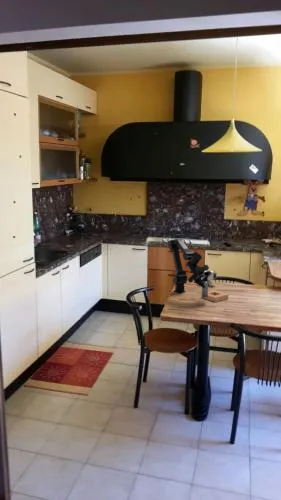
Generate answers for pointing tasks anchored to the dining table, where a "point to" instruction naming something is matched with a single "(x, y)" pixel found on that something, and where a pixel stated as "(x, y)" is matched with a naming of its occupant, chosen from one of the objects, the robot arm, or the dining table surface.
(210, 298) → the docking socket
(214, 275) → the pneumatic valve
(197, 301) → the dining table surface
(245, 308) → the dining table surface
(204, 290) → the cylinder
